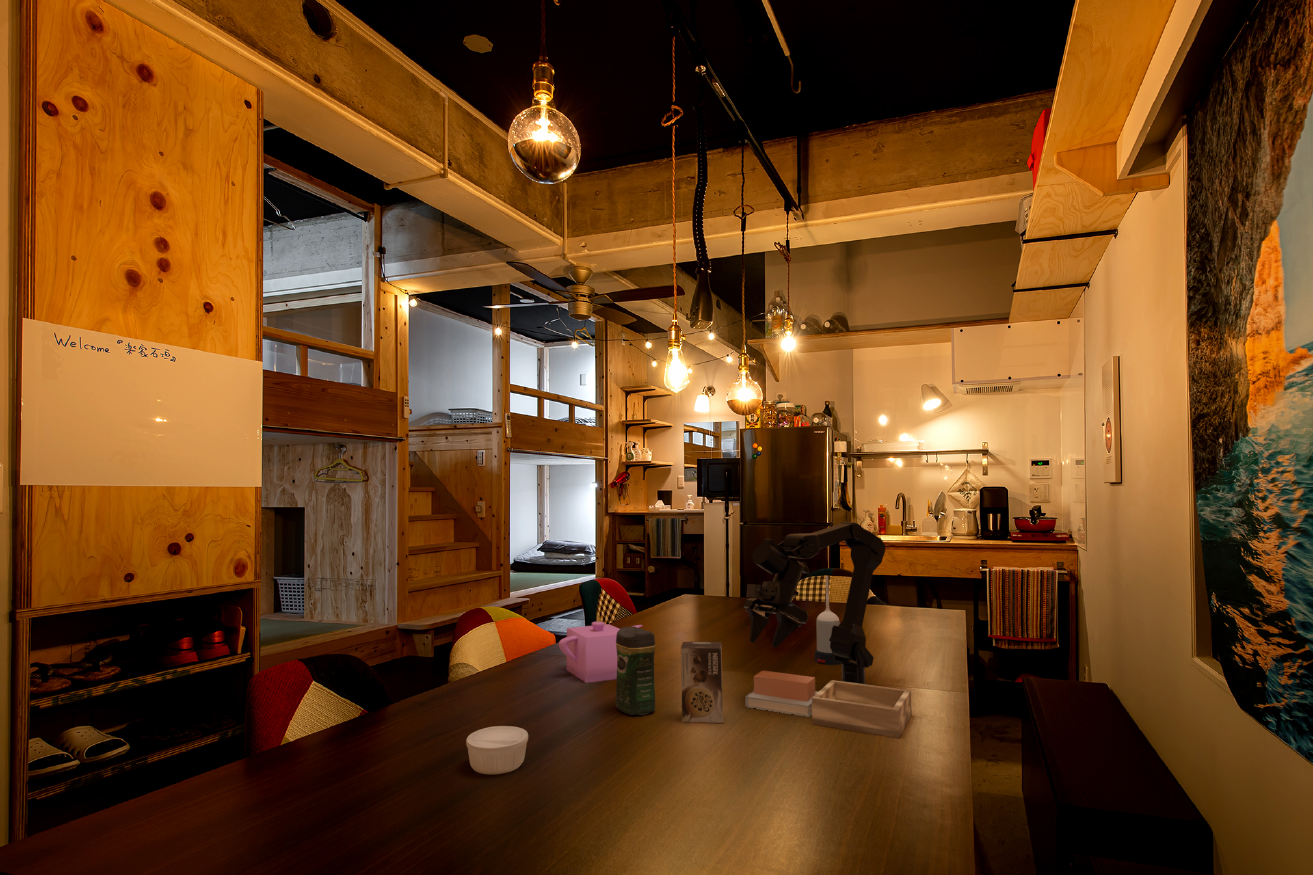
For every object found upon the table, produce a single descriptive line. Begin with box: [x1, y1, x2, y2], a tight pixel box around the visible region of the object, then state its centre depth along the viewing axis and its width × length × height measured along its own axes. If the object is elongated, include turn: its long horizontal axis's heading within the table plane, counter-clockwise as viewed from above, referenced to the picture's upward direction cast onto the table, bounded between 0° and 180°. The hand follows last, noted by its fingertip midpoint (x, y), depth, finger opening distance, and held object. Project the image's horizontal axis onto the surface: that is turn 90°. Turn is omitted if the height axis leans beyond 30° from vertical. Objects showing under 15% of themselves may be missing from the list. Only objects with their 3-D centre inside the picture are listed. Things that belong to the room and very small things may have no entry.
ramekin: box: [465, 725, 529, 775], centre depth 128 cm, size 11×11×5 cm
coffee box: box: [680, 641, 724, 724], centre depth 155 cm, size 9×6×16 cm
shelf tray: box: [811, 679, 913, 739], centre depth 153 cm, size 16×18×6 cm
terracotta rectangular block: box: [753, 670, 816, 701], centre depth 164 cm, size 6×13×4 cm, turn 61°
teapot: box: [558, 621, 643, 684], centre depth 193 cm, size 15×25×14 cm, turn 117°
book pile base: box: [744, 690, 819, 718], centre depth 164 cm, size 12×15×2 cm
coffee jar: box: [615, 625, 656, 716], centre depth 161 cm, size 10×8×19 cm
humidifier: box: [814, 575, 842, 666], centre depth 206 cm, size 8×8×25 cm
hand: (762, 644), depth 162 cm, fingers open, 9 cm apart
